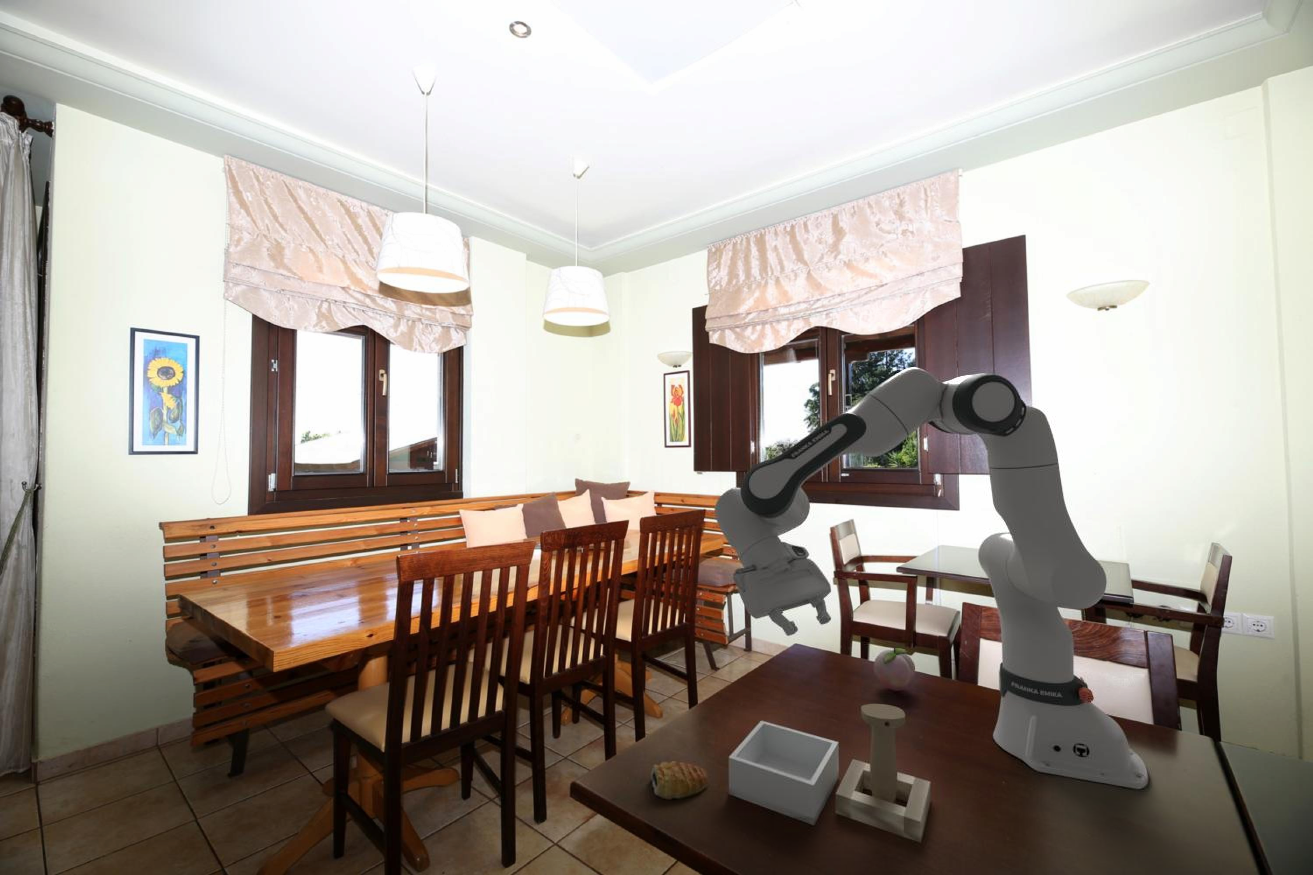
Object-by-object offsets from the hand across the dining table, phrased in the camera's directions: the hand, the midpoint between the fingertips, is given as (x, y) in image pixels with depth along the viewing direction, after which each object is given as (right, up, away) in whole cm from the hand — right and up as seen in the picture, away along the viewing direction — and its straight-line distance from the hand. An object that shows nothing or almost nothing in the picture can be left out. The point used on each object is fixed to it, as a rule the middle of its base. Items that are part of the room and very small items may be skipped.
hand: (810, 627), depth 98 cm
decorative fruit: (+27, -25, +29) cm, 47 cm away
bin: (-6, -25, -5) cm, 26 cm away
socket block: (+9, -24, -11) cm, 28 cm away
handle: (+9, -25, -11) cm, 28 cm away
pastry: (-24, -25, -5) cm, 35 cm away
